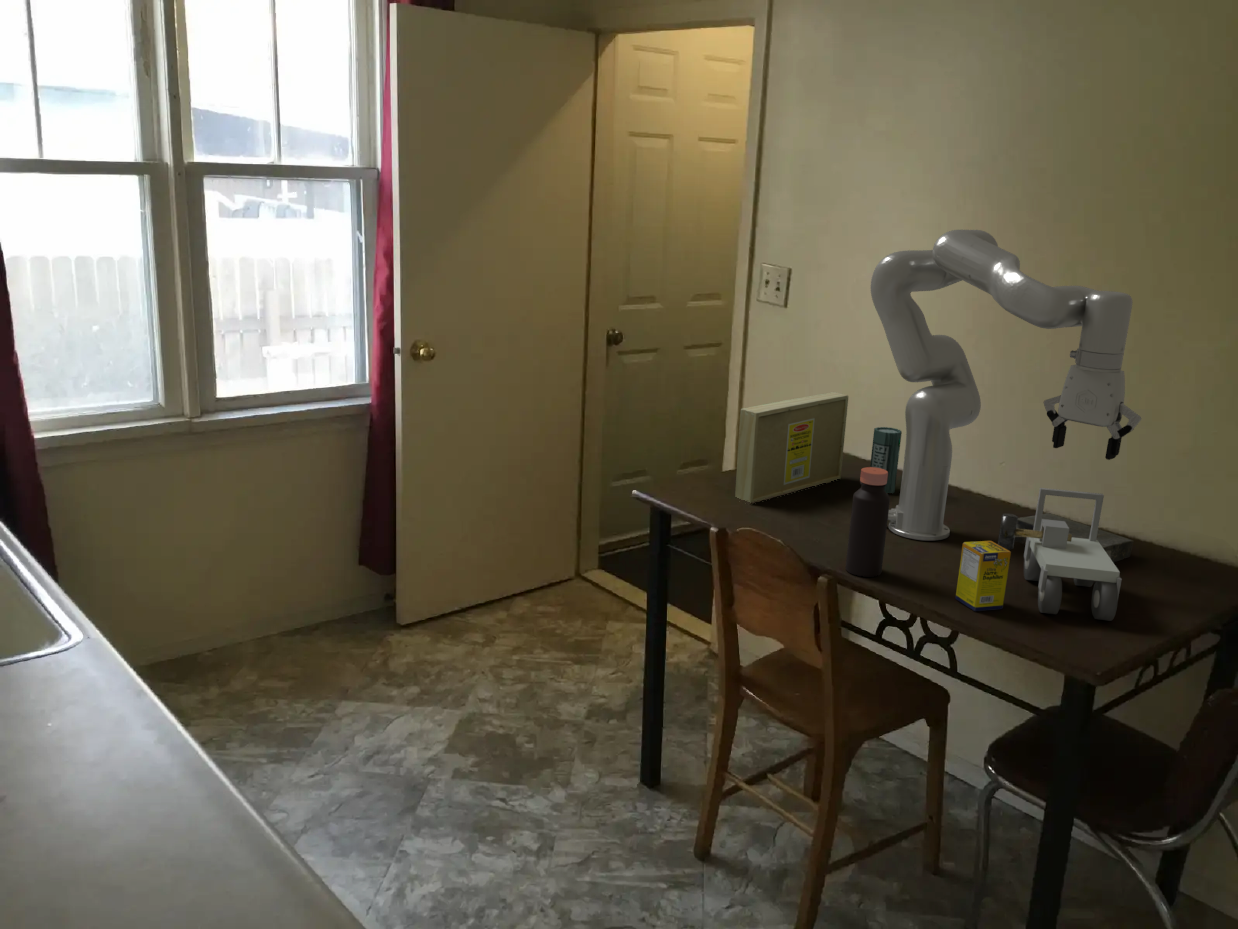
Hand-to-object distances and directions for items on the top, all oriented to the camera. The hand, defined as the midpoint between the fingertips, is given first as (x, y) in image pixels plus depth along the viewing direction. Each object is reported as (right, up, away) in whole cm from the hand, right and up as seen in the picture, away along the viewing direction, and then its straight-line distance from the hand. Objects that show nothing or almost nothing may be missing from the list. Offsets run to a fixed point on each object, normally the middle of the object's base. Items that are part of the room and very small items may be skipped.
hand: (1083, 452), depth 192 cm
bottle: (-39, -23, +7) cm, 46 cm away
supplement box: (-22, -27, -6) cm, 35 cm away
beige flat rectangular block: (-45, -8, +57) cm, 73 cm away
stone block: (+8, -20, +25) cm, 33 cm away
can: (-22, -9, +60) cm, 64 cm away
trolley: (-4, -27, -2) cm, 27 cm away
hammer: (-9, -18, 0) cm, 20 cm away
